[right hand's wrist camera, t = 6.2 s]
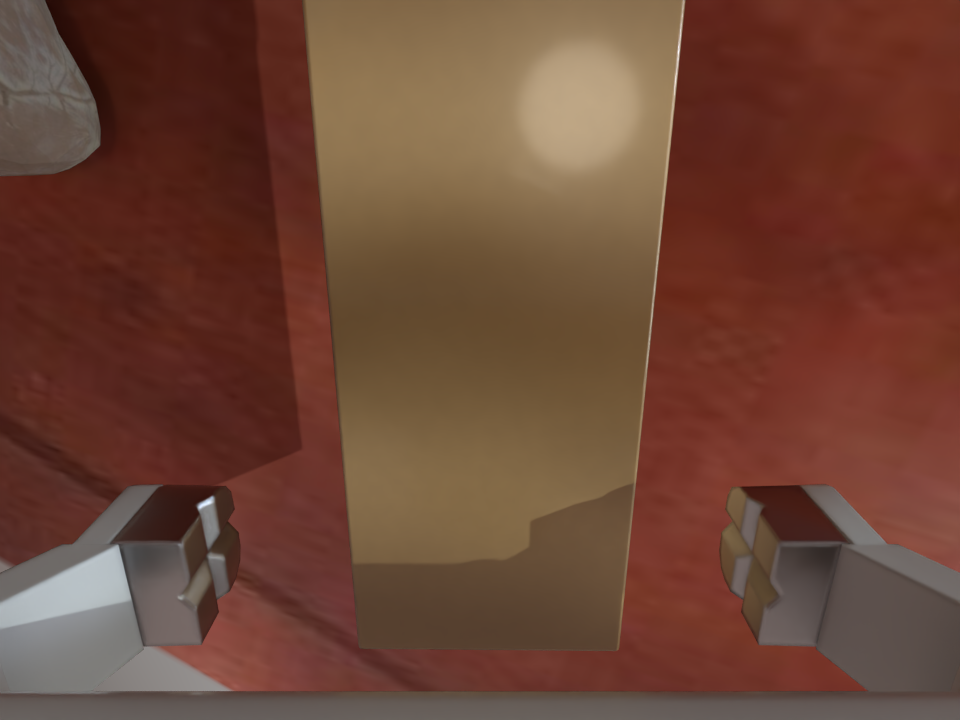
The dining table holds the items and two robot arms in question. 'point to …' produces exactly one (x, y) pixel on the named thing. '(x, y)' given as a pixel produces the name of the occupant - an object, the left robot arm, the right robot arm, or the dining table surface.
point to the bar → (491, 304)
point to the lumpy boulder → (41, 95)
